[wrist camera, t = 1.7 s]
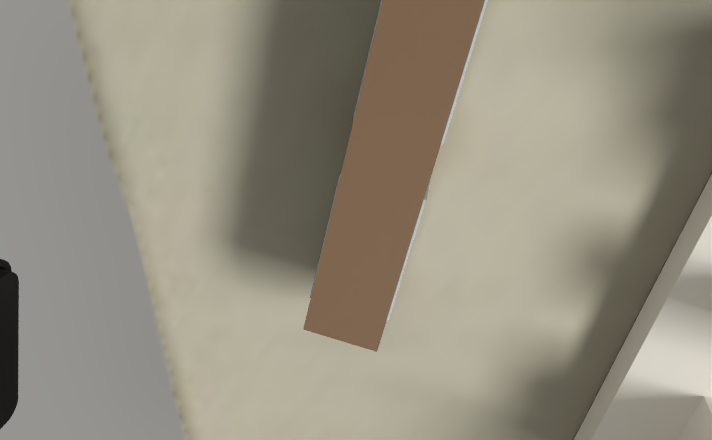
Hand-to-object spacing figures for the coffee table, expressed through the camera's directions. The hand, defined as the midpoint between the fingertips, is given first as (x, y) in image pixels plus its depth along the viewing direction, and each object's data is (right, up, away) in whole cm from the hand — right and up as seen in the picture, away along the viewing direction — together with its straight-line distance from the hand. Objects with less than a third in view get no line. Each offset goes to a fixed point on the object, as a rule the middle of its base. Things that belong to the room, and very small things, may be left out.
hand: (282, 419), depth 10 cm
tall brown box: (+3, +7, +14) cm, 16 cm away
